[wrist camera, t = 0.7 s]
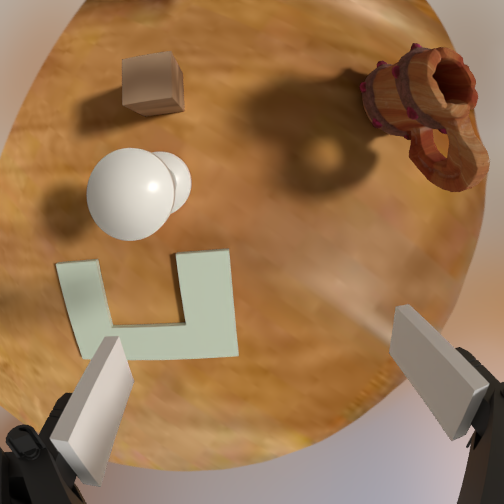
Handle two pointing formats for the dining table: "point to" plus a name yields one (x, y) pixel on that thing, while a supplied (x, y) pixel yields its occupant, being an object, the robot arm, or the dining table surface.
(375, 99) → the mug
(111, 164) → the knob
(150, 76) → the block
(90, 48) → the dining table surface
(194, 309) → the notched board
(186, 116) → the dining table surface
